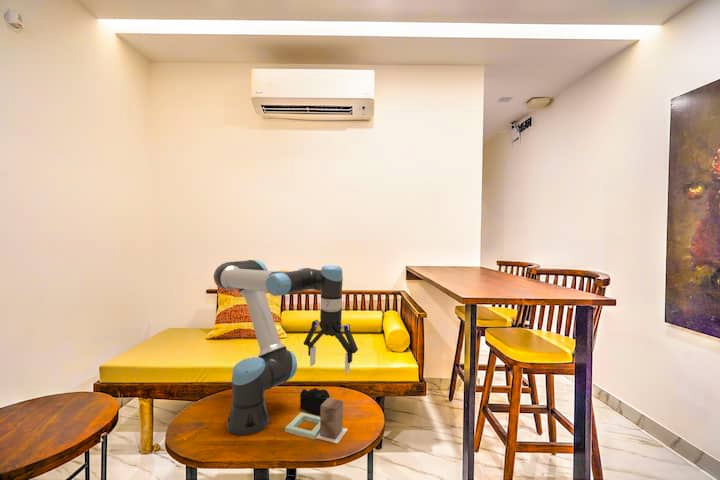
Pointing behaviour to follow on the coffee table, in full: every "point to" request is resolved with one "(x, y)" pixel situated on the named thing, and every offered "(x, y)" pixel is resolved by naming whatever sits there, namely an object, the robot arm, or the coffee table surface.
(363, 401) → the coffee table surface
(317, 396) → the film camera
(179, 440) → the coffee table surface
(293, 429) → the pocket board
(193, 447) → the coffee table surface
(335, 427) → the walnut block
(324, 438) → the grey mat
